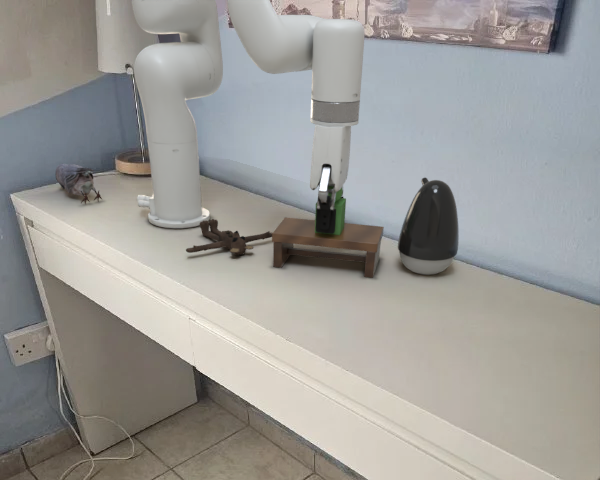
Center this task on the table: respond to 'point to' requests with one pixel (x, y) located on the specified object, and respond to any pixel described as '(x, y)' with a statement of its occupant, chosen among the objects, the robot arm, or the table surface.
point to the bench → (327, 242)
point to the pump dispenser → (430, 229)
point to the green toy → (337, 212)
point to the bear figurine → (225, 239)
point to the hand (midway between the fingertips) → (329, 224)
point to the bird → (76, 180)
